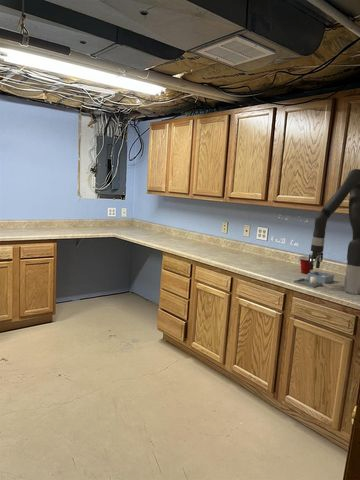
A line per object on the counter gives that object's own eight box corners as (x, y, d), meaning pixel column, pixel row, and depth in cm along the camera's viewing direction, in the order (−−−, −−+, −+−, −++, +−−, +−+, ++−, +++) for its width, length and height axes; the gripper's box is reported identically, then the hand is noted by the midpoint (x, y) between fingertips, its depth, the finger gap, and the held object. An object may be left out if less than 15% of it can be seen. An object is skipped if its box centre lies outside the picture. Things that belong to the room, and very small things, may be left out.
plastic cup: (295, 273, 269) (297, 257, 267) (299, 270, 278) (301, 255, 276) (310, 275, 263) (312, 259, 261) (314, 273, 272) (316, 257, 270)
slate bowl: (333, 281, 250) (333, 275, 250) (324, 284, 242) (325, 277, 241) (315, 277, 259) (316, 271, 259) (307, 279, 251) (307, 273, 250)
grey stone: (317, 285, 236) (318, 277, 236) (314, 286, 234) (315, 278, 233) (311, 283, 239) (312, 276, 239) (308, 284, 237) (309, 277, 236)
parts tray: (322, 285, 238) (322, 283, 238) (313, 288, 230) (313, 285, 230) (302, 280, 248) (302, 278, 248) (293, 282, 240) (293, 280, 240)
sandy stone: (327, 281, 247) (323, 282, 243) (321, 280, 250) (318, 281, 246) (327, 275, 246) (324, 276, 243) (322, 274, 249) (318, 275, 245)
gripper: (317, 246, 225) (314, 271, 228) (328, 244, 235) (325, 269, 237) (306, 244, 230) (303, 268, 233) (317, 242, 240) (314, 266, 243)
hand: (314, 268), depth 235 cm, fingers open, 8 cm apart
